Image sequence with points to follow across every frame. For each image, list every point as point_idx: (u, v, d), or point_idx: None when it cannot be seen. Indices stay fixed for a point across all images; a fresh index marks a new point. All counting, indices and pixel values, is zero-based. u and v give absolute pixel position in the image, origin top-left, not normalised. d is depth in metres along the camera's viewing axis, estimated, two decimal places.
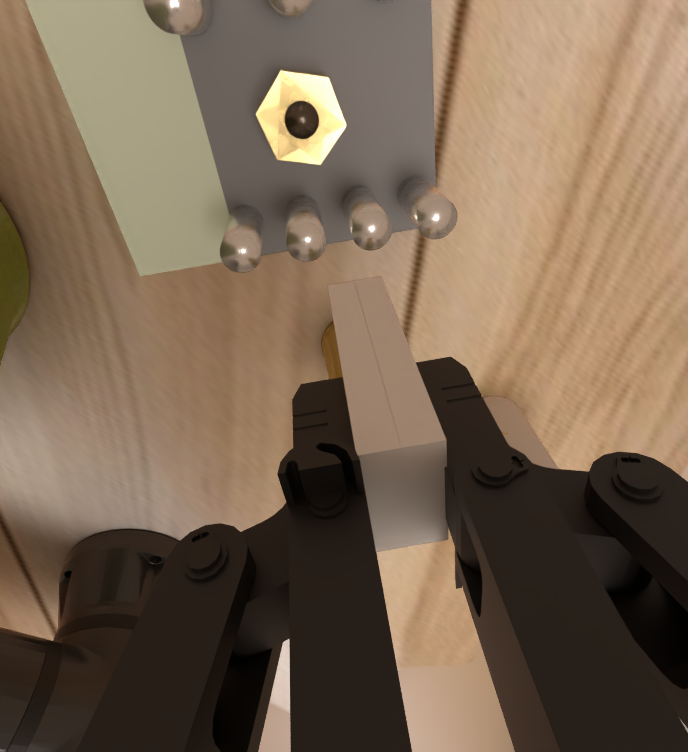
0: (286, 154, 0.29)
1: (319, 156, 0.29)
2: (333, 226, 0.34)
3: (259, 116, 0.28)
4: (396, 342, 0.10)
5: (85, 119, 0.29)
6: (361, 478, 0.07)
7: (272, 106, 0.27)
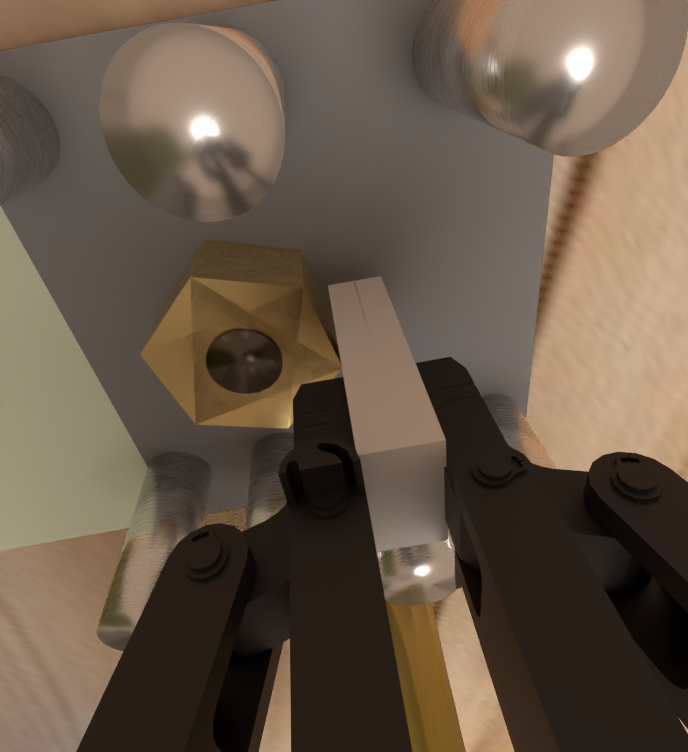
0: (214, 415, 0.14)
1: (285, 417, 0.14)
2: None
3: (149, 357, 0.12)
4: (396, 343, 0.10)
5: None
6: (362, 478, 0.07)
7: (175, 341, 0.12)
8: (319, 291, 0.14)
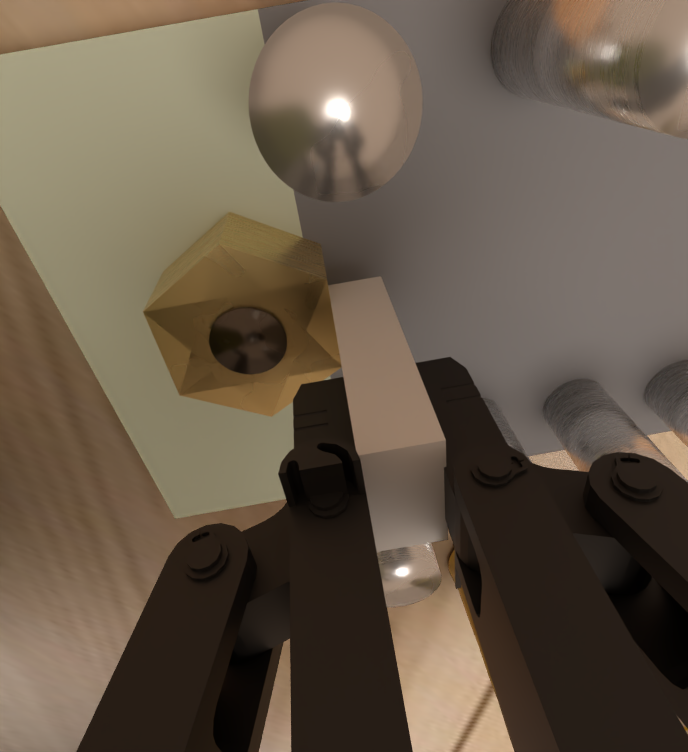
0: (201, 390, 0.13)
1: (272, 404, 0.14)
2: (519, 437, 0.19)
3: (151, 317, 0.12)
4: (396, 343, 0.10)
5: (74, 297, 0.14)
6: (362, 478, 0.07)
7: (184, 305, 0.12)
8: None
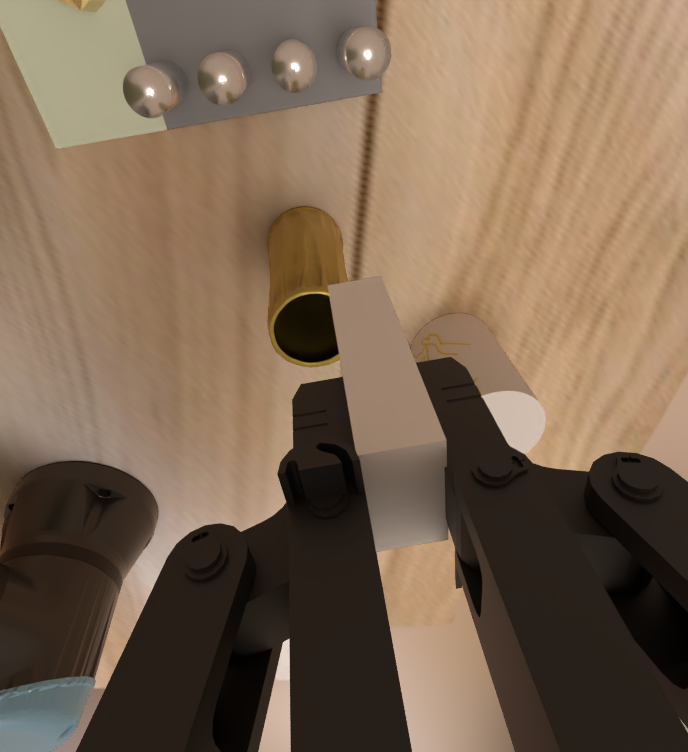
0: None
1: (79, 0, 0.26)
2: (266, 91, 0.31)
3: None
4: (396, 342, 0.10)
5: None
6: (361, 478, 0.07)
7: None
8: None
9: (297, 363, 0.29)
